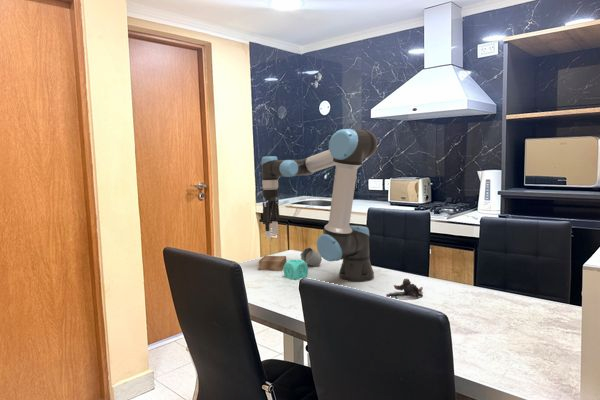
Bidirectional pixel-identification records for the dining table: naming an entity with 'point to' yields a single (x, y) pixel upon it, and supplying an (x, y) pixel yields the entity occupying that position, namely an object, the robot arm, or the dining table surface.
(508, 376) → the dining table surface
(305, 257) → the ceramic mug
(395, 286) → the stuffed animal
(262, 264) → the base block
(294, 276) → the decorative dice
